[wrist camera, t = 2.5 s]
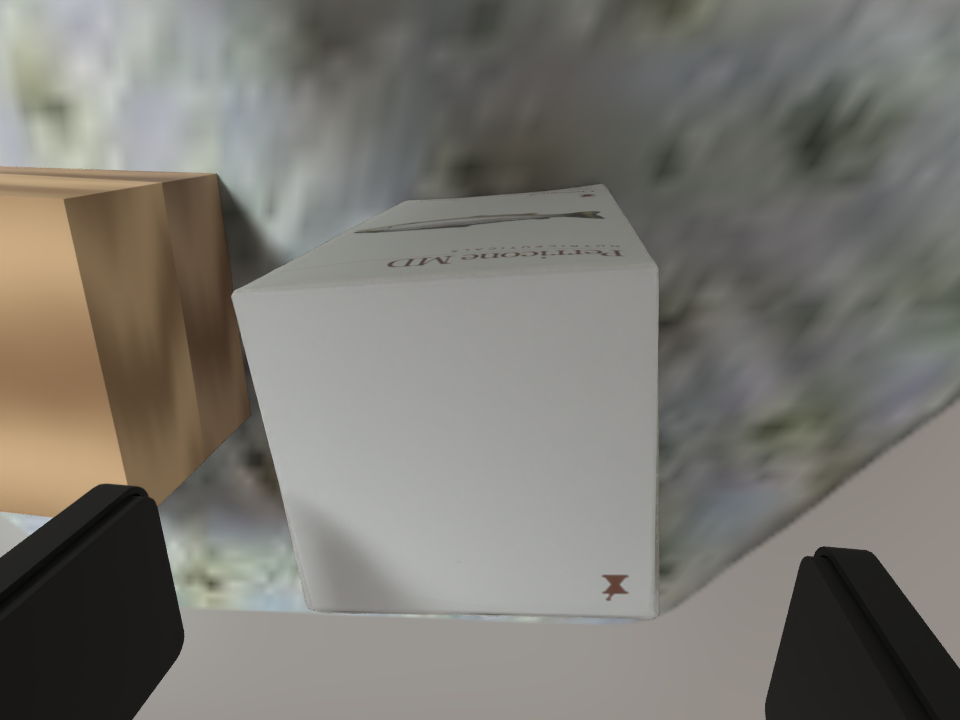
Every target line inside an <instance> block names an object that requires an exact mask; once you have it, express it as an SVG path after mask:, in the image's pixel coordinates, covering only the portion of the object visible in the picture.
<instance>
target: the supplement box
mask: <svg viewBox="0 0 960 720" xmlns="http://www.w3.org/2000/svg"><path fill="white" fill-rule="evenodd" d="M231 298H232V302H233V305H234V309H235V312H236V316H237V321H238V325H239V329H240V333H241V337H242V341H243V345H244V349H245V353H246V357H247V361H248V364H249V368H250V372H251V376H252V380H253V384H254V388H255V392H256V396H257V399H258V403H259V407H260V411H261V415H262V419H263V423H264V427H265V431H266V435H267V439H268V443H269V447H270V451H271V454H272V458H273V462H274V466H275V470H276V474H277V478H278V481H279V486H280V490H281V495H282V499H283V504H284V508H285V513H286V517H287V522H288V526H289V531H290V535H291V540H292V545H293V549H294V553H295V558H296V562H297V566H298V570H299V575H300V579H301V583H302V588H303V593H304V598H305V602H306V605H307V607H308V608H309V609H311V610H313V611H317V612H322V613H350V614H362V613H381V614H423V615H470V616H477V617H481V616H487V617H498V616H527V617H582V618H625V619H639V620H653V619H654V618H656V617H657V616H658V615H659V418H658V334H659V331H658V319H659V271H658V266H657V265H656V263H655V261H654V260H653V258H652V257H651V256H650V254H649V252H648V251H647V249H646V248H645V246H644V244H643V243H642V241H641V240H640V239H639V237H638V235H637V233H636V232H635V230H634V229H633V227H632V226H631V224H630V222H629V221H628V219H627V218H626V217H625V215H624V214H623V212H622V211H621V209H620V207H619V206H618V205H617V203H616V202H615V200H614V198H613V197H612V195H611V194H610V192H609V191H608V189H607V187H606V186H605V185H603V184H597V185H589V186H582V187H575V188H567V189H559V190H551V191H541V192H529V193H516V194H504V195H491V196H478V197H466V198H451V199H430V200H407V201H404V202H402V203H400V204H398V205H396V206H395V207H392V208H390V209H388V210H386V211H384V212H382V213H380V214H378V215H377V216H375V217H373V218H371V219H368V220H367V221H365V222H363V223H361V224H359V225H357V226H355V227H353V228H351V229H350V230H348V231H346V232H344V233H342V234H340V235H338V236H336V237H334V238H333V239H331V240H329V241H327V242H325V243H323V244H322V245H320V246H318V247H316V248H314V249H313V250H311V251H309V252H307V253H306V254H304V255H302V256H300V257H298V258H296V259H294V260H292V261H290V262H288V263H286V264H285V265H283V266H281V267H279V268H276V269H274V270H273V271H271V272H269V273H268V274H266V275H264V276H262V277H260V278H258V279H256V280H254V281H253V282H251V283H249V284H247V285H245V286H243V287H241V288H238V289H236V290H235V291H234V292H233V294H232V296H231Z"/></svg>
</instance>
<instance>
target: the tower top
mask: <svg viewBox="0 0 960 720" xmlns="http://www.w3.org/2000/svg"><path fill="white" fill-rule="evenodd" d="M205 460H206V454H205V448H204V442H203V436H202V429H201V423H200V417H199V411H198V405H197V398H196V392H195V386H194V380H193V374H192V367H191V361H190V355H189V349H188V343H187V336H186V330H185V324H184V318H183V312H182V305H181V299H180V293H179V287H178V281H177V275H176V268H175V262H174V256H173V250H172V244H171V237H170V231H169V225H168V219H167V213H166V206H165V200H164V194H163V188H162V183H160V182H142V181H124V180H106V179H89V178H71V177H53V176H35V175H17V174H0V511H2V512H11V513H20V514H28V515H37V516H46V517H55V516H56V515H58V514H59V513H60V512H62V511H63V510H64V509H66V508H67V507H68V506H70V505H71V504H72V503H74V502H75V501H76V500H78V499H79V498H80V497H82V496H83V495H84V494H86V493H87V492H88V491H90V490H91V489H92V488H94V487H96V486H97V485H99V484H106V483H107V484H118V485H130V486H139V487H142V488H144V489H145V490H146V492H147V493H148V496H149V497H150V498H153V499H154V500H155V502H156V504H157V507H158V506H159V505H160V504H161V503H162V502H163V501H164V500H165V499H166V498H167V497H168V496H169V495H170V494H171V493H172V492H173V491H174V490H175V489H176V488H177V487H178V486H179V485H180V484H181V483H182V482H184V481H185V480H186V479H187V478H188V477H189V476H190V475H191V474H192V473H193V472H194V471H195V470H196V469H197V468H198V467H199V466H200V465H201V464H202V463H203V462H204V461H205Z"/></svg>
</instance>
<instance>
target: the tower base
mask: <svg viewBox="0 0 960 720" xmlns="http://www.w3.org/2000/svg"><path fill="white" fill-rule="evenodd" d="M0 174H17V175H35V176H53V177H71V178H89V179H106V180H124V181H142V182H160V183H162V188H163V194H164V200H165V206H166V213H167V219H168V225H169V231H170V237H171V244H172V250H173V256H174V262H175V268H176V275H177V281H178V287H179V293H180V299H181V305H182V312H183V318H184V324H185V330H186V336H187V343H188V349H189V355H190V361H191V367H192V374H193V380H194V386H195V392H196V398H197V405H198V411H199V417H200V423H201V429H202V436H203V442H204V448H205V454H206V459H207V458H208V457H209V456H210V455H211V454H212V453H213V452H214V451H215V450H216V449H217V448H218V447H219V446H220V445H221V444H222V443H223V442H224V441H225V440H226V439H227V438H228V437H229V436H230V435H231V434H232V433H233V432H234V431H235V430H236V429H237V428H238V427H239V426H240V425H241V424H242V423H243V422H244V421H245V420H247V419H248V418H249V417H250V416H251V413H250V406H249V399H248V392H247V385H246V378H245V371H244V364H243V356H242V349H241V342H240V335H239V328H238V321H237V316H236V312H235V309H234V305H233V302H232V298H231V296H232V294H233V285H232V278H231V271H230V264H229V257H228V250H227V243H226V236H225V229H224V221H223V214H222V207H221V200H220V193H219V186H218V179H217V174H211V173H181V172H151V171H122V170H92V169H62V168H32V167H2V166H0Z"/></svg>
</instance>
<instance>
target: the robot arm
mask: <svg viewBox="0 0 960 720" xmlns="http://www.w3.org/2000/svg"><path fill="white" fill-rule="evenodd" d="M183 642H184V629H183V624H182V620H181V615H180V610H179V606H178V601H177V596H176V592H175V587H174V582H173V578H172V573H171V568H170V563H169V559H168V554H167V549H166V545H165V540H164V535H163V531H162V526H161V521H160V517H159V512H158V507H157V504H156V502H155V500H154V499H153V498H150V497H149V496H148V493H147V492H146V490H145V489H144V488H142V487H139V486H130V485H118V484H107V483H106V484H99V485H97V486H96V487H94V488H92V489H91V490H90V491H88V492H87V493H86V494H84V495H83V496H82V497H80V498H79V499H78V500H76V501H75V502H74V503H72V504H71V505H70V506H68V507H67V508H66V509H64V510H63V511H62V512H60V513H59V514H58V515H56V516H55V517H54V518H52V519H51V520H50V521H48V522H47V523H46V524H44V525H43V526H42V527H40V528H39V529H38V530H36V531H35V532H34V533H33V534H31V535H30V536H29V537H27V538H26V539H25V540H23V541H22V542H21V543H19V544H18V545H17V546H15V547H14V548H13V549H11V550H10V551H9V552H7V553H6V554H5V555H3V556H2V557H1V558H0V720H132V719H133V718H134V717H135V715H136V714H137V712H138V711H139V710H140V708H141V707H142V706H143V704H144V703H145V702H146V700H147V699H148V697H149V696H150V695H151V693H152V692H153V691H154V689H155V688H156V687H157V685H158V684H159V683H160V681H161V680H162V678H163V677H164V676H165V674H166V673H167V672H168V670H169V669H170V668H171V666H172V665H173V663H174V662H175V661H176V659H177V658H178V656H179V654H180V652H181V649H182V646H183ZM765 715H766V720H960V669H959V667H958V666H957V665H956V663H955V662H954V661H953V659H952V658H951V657H950V655H949V654H948V653H947V651H946V650H945V648H944V647H943V646H942V644H941V643H940V642H939V640H938V639H937V638H936V636H935V635H934V634H933V632H932V631H931V630H930V628H929V627H928V626H927V624H926V623H925V622H924V620H923V619H922V618H921V616H920V615H919V614H918V612H917V611H916V610H915V608H914V607H913V606H912V604H911V603H910V602H909V600H908V599H907V598H906V596H905V595H904V594H903V592H902V591H901V589H900V588H899V587H898V585H897V584H896V583H895V581H894V580H893V579H892V577H891V576H890V575H889V573H888V572H887V571H886V569H885V568H884V567H883V565H882V564H881V563H880V561H879V560H878V559H877V558H876V556H875V555H874V554H873V553H872V552H869V551H867V550H858V549H847V548H835V547H820V548H818V550H817V551H816V552H815V555H814V557H811V556H806V557H804V558H803V559H802V561H801V564H800V567H799V570H798V574H797V578H796V582H795V587H794V590H793V594H792V598H791V602H790V606H789V610H788V614H787V618H786V622H785V626H784V630H783V634H782V638H781V642H780V646H779V650H778V654H777V658H776V662H775V666H774V670H773V674H772V678H771V682H770V686H769V690H768V694H767V698H766V703H765Z"/></svg>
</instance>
